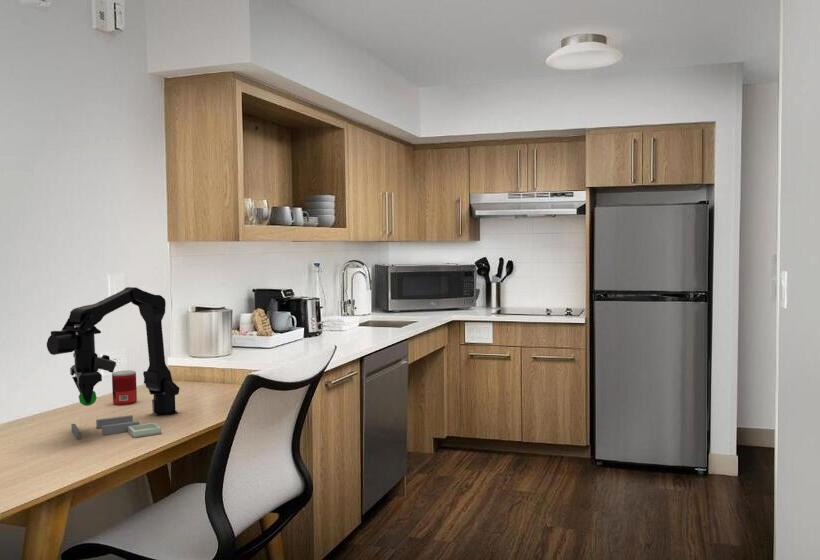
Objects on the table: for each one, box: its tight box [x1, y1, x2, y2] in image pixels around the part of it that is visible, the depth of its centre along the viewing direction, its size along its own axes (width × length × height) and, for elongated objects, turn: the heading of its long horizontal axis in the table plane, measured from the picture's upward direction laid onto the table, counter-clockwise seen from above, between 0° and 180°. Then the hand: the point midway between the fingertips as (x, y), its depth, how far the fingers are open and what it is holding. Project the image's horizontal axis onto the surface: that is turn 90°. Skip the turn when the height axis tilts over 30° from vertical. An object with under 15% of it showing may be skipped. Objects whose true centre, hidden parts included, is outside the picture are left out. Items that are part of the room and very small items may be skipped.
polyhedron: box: [78, 390, 98, 407], centre depth 225 cm, size 5×5×5 cm
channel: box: [70, 414, 140, 440], centre depth 228 cm, size 18×12×2 cm
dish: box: [127, 422, 163, 439], centre depth 225 cm, size 8×8×2 cm
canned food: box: [111, 369, 138, 406], centre depth 266 cm, size 8×8×11 cm
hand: (86, 401), depth 225 cm, fingers closed on polyhedron, 5 cm apart
